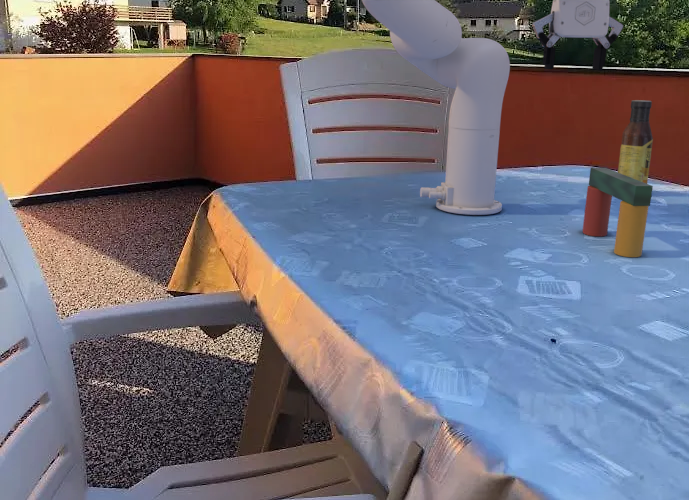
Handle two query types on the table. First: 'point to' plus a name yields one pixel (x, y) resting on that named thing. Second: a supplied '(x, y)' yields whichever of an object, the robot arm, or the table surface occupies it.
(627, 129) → the sauce bottle
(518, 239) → the table surface
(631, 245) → the yellow rod
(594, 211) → the red rod
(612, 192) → the green bar
